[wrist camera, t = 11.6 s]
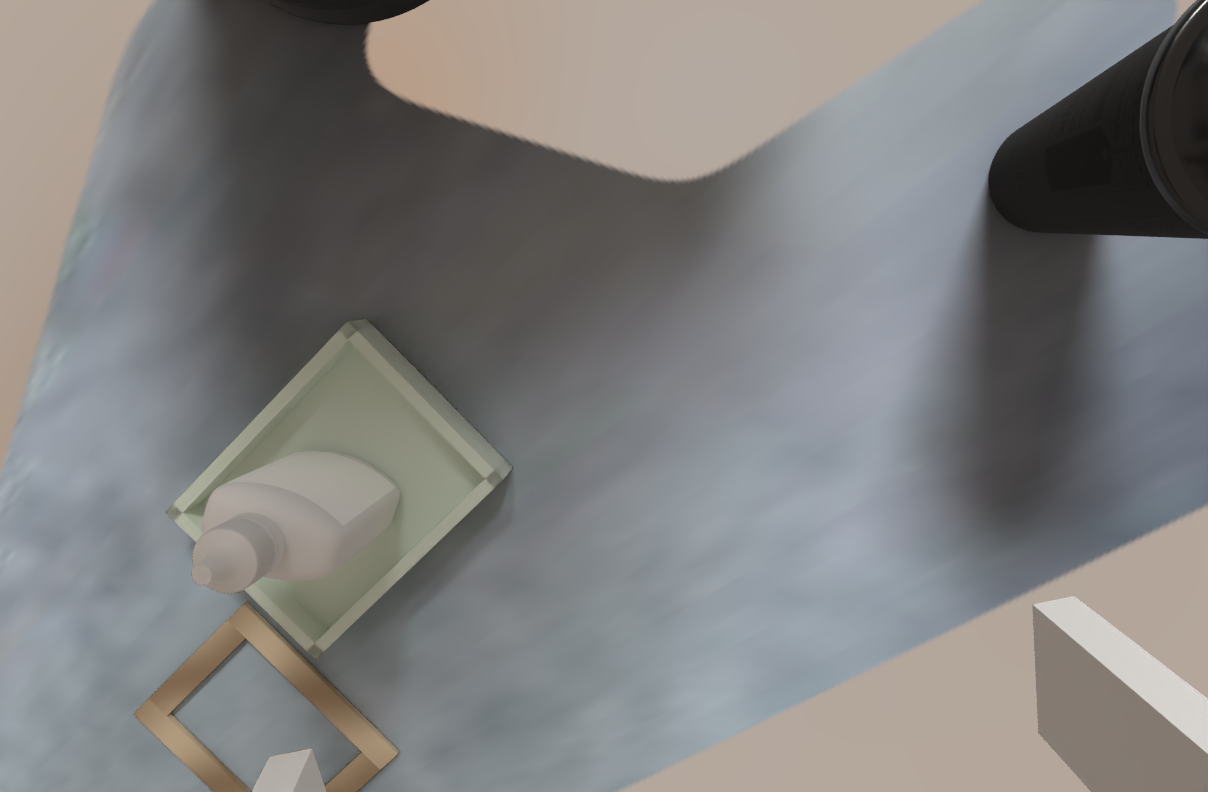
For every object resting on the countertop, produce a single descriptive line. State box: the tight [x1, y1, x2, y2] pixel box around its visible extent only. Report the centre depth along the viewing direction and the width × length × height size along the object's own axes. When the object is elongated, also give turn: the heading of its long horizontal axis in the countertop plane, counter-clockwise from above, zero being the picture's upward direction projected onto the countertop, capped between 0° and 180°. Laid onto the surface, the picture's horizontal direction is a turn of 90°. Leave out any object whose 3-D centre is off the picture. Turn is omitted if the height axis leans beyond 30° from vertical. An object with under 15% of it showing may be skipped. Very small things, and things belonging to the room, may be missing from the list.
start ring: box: [133, 602, 399, 792], centre depth 40 cm, size 11×9×1 cm
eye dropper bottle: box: [191, 450, 400, 594], centre depth 31 cm, size 4×6×12 cm
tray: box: [166, 319, 513, 660], centre depth 37 cm, size 10×13×2 cm
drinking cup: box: [989, 0, 1208, 239], centre depth 24 cm, size 8×8×20 cm
